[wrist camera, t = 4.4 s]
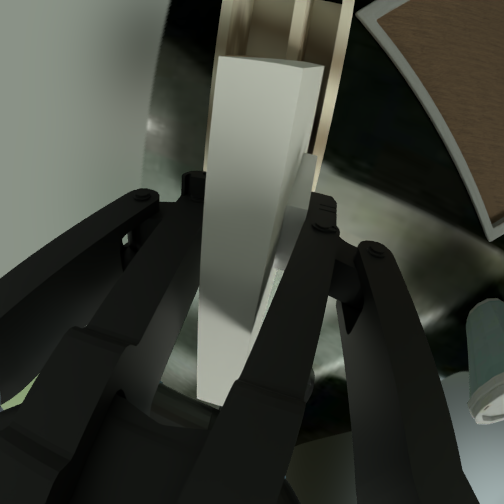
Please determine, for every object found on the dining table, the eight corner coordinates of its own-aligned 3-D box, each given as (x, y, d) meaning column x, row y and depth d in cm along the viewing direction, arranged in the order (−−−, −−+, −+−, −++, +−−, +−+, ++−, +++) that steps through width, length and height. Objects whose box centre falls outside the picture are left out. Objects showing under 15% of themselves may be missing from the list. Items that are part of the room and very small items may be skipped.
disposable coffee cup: (528, 292, 31) (566, 379, 19) (492, 345, 37) (512, 429, 25) (473, 278, 33) (509, 377, 21) (438, 337, 39) (452, 431, 27)
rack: (302, 232, 35) (293, 271, 30) (221, 213, 36) (198, 246, 31) (350, 8, 21) (356, -7, 16) (249, -8, 22) (226, -24, 17)
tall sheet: (299, 192, 30) (234, 409, 12) (282, 188, 30) (197, 398, 12) (325, 65, 23) (303, 68, 5) (306, 61, 23) (218, 56, 5)
